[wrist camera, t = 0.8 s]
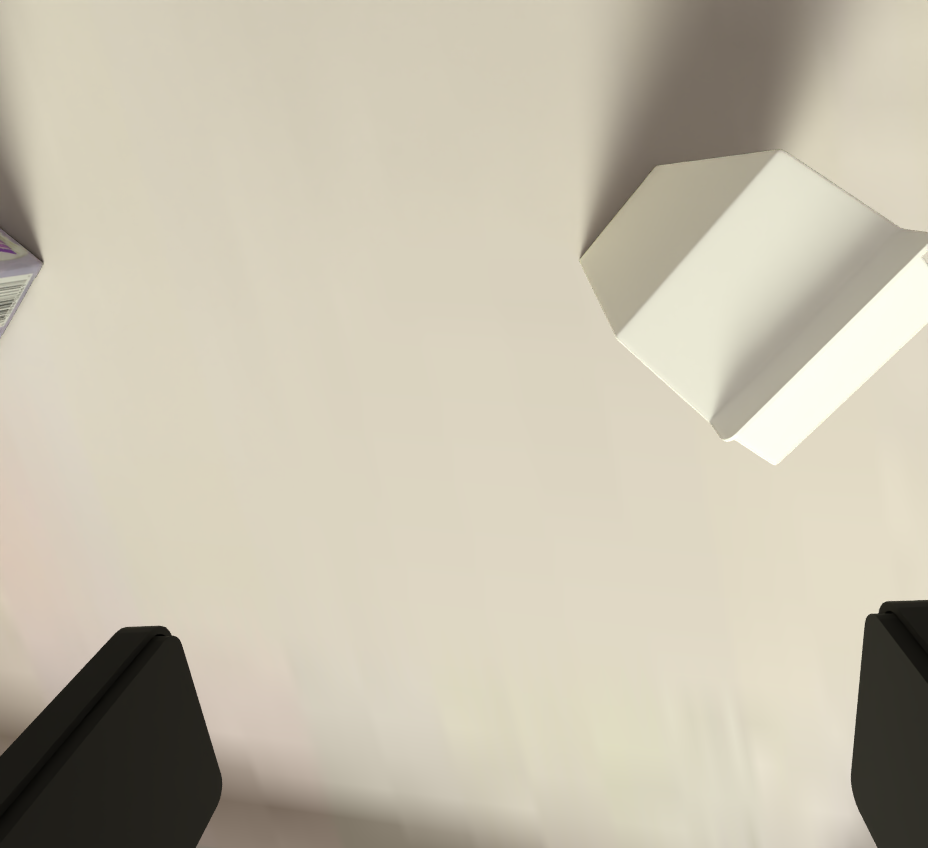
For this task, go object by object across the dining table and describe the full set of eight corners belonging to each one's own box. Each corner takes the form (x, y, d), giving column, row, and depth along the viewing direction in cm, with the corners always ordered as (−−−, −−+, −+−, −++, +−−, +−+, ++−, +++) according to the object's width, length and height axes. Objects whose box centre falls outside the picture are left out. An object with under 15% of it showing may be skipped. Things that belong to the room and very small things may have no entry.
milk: (577, 260, 36) (619, 366, 15) (657, 162, 34) (827, 133, 13) (665, 331, 37) (816, 523, 16) (748, 239, 35) (1042, 324, 14)
